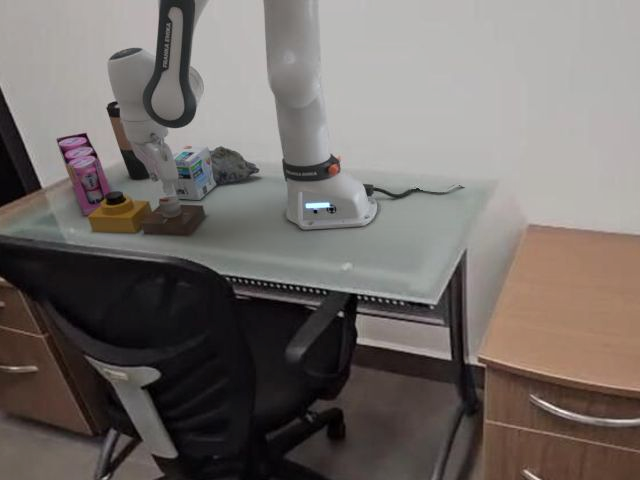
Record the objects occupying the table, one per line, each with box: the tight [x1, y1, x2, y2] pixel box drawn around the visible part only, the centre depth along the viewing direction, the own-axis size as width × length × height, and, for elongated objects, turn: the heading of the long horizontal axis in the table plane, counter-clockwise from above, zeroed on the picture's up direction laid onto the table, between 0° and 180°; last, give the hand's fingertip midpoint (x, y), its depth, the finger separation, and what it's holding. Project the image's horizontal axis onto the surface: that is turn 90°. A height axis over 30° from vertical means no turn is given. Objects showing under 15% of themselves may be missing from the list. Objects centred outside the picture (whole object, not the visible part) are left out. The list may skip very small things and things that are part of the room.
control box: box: [86, 194, 153, 234], centre depth 148 cm, size 11×9×6 cm
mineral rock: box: [209, 145, 260, 185], centre depth 165 cm, size 13×11×10 cm
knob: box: [158, 195, 182, 218], centre depth 145 cm, size 4×4×4 cm
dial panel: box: [141, 204, 206, 236], centre depth 147 cm, size 11×10×3 cm
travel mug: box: [105, 100, 150, 181], centre depth 168 cm, size 8×8×20 cm
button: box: [105, 190, 125, 205], centre depth 146 cm, size 4×4×2 cm
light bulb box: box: [173, 145, 218, 201], centre depth 160 cm, size 11×7×11 cm, turn 169°
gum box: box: [56, 132, 112, 216], centre depth 158 cm, size 24×8×14 cm, turn 31°
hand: (162, 186), depth 142 cm, fingers open, 8 cm apart
